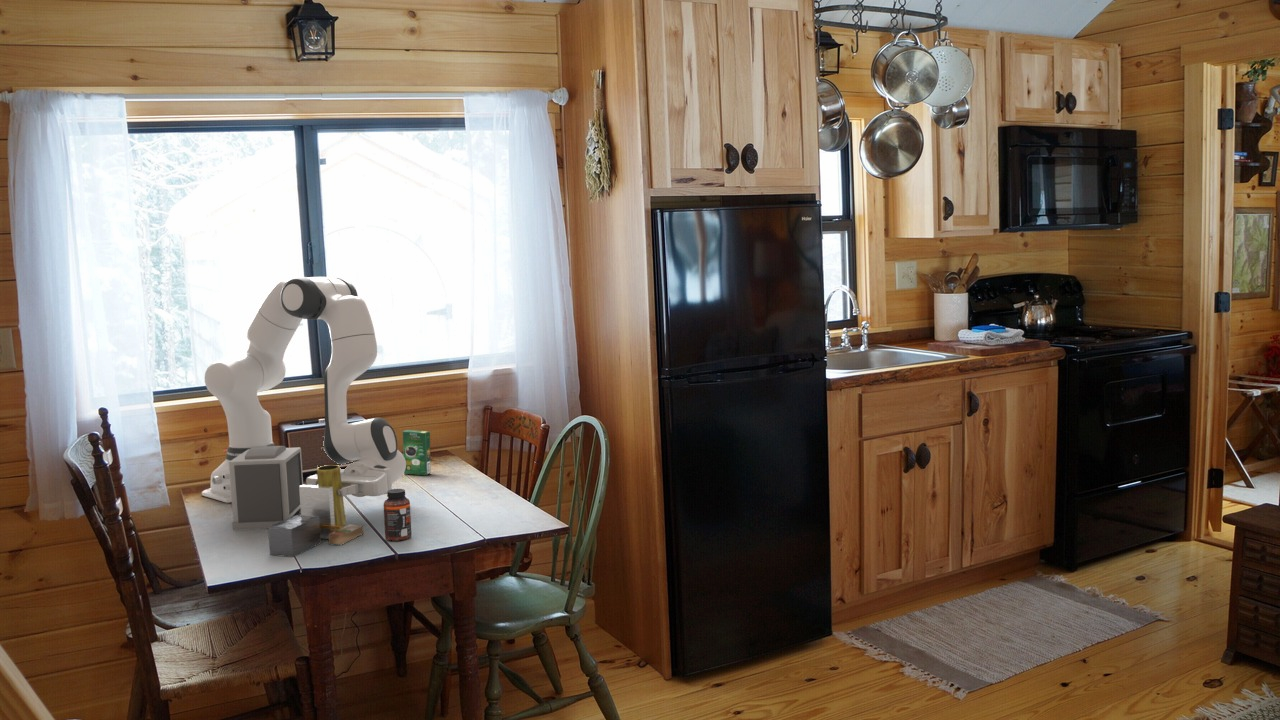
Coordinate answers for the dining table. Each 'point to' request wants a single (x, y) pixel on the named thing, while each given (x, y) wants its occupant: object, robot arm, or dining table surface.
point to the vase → (332, 477)
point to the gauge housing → (294, 535)
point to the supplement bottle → (397, 515)
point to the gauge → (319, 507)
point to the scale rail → (345, 534)
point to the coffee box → (417, 452)
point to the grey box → (265, 486)
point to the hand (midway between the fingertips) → (328, 492)
